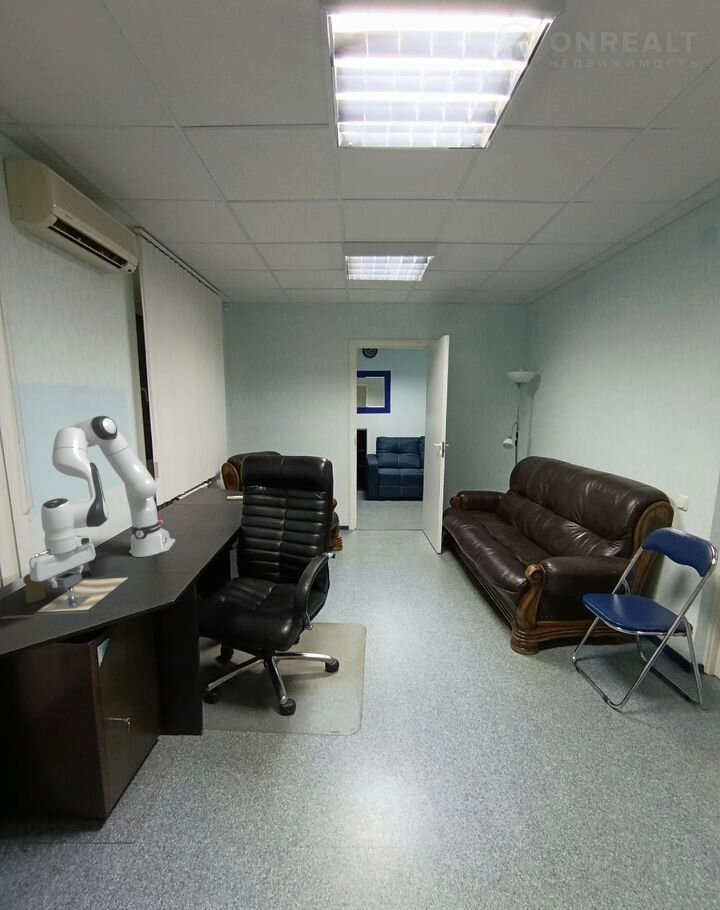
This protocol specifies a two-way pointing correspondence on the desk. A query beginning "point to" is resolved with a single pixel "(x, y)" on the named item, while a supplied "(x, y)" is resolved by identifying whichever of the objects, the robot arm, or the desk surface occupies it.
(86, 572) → the desk surface
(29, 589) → the cork
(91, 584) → the board
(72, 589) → the post
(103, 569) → the coffee cup
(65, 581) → the link
